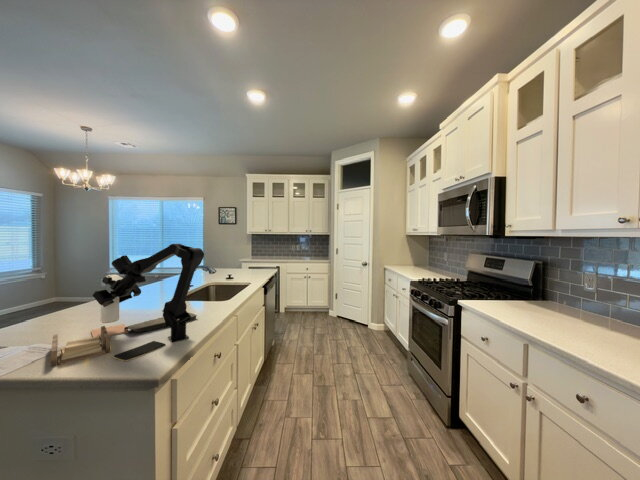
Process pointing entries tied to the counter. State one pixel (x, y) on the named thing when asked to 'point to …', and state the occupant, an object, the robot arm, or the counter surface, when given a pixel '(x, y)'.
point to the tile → (110, 330)
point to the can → (110, 312)
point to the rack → (80, 348)
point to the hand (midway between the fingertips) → (107, 305)
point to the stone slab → (152, 324)
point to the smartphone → (139, 351)
